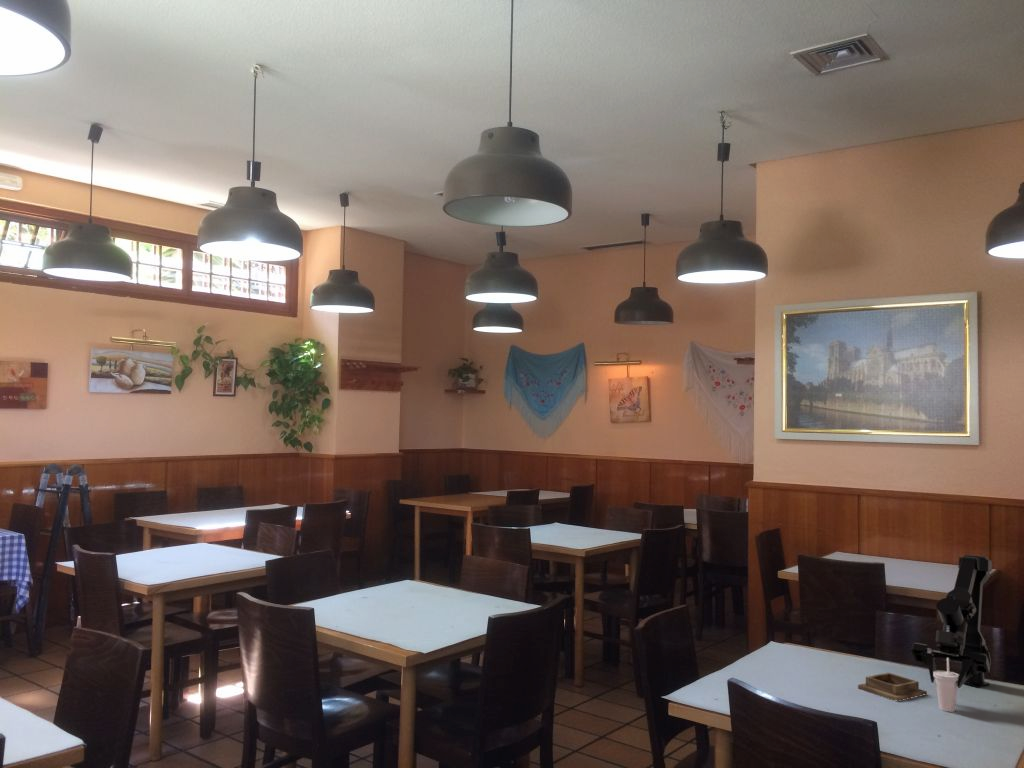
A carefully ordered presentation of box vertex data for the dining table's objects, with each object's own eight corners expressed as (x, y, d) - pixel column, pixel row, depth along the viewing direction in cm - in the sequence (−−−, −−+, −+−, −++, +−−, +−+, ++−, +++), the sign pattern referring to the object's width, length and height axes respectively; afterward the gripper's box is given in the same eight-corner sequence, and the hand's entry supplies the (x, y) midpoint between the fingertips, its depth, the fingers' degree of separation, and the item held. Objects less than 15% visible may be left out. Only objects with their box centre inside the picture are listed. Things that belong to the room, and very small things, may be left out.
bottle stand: (887, 682, 239) (887, 670, 239) (926, 694, 227) (926, 682, 228) (858, 688, 233) (857, 676, 233) (897, 701, 221) (896, 688, 222)
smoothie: (964, 714, 211) (962, 661, 212) (938, 712, 213) (936, 660, 213) (955, 706, 218) (954, 655, 218) (930, 704, 219) (929, 653, 220)
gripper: (911, 613, 226) (901, 661, 217) (986, 624, 213) (978, 674, 204) (920, 636, 231) (910, 683, 222) (993, 648, 219) (986, 698, 210)
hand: (945, 684), depth 214 cm, fingers closed on smoothie, 6 cm apart
